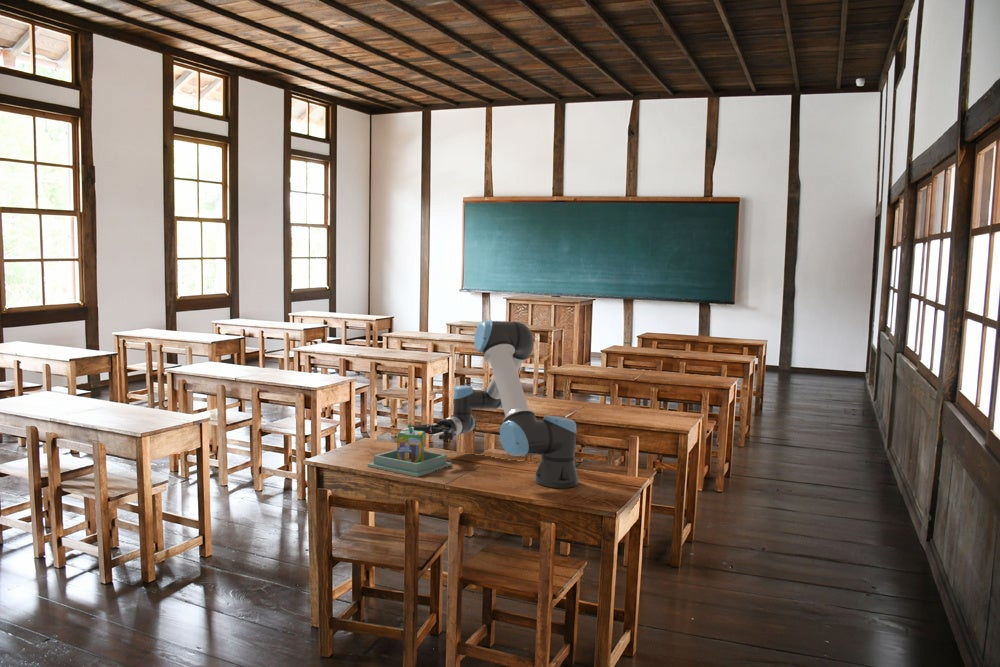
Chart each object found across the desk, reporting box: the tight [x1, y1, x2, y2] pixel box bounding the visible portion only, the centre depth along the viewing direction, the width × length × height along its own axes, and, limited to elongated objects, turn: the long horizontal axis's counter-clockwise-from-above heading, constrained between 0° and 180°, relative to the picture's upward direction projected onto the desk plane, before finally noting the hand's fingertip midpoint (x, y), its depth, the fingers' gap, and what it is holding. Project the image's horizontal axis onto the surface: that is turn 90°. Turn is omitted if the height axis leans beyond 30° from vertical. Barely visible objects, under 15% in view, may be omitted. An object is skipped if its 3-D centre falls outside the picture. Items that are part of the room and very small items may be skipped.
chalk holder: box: [367, 449, 453, 478], centre depth 275 cm, size 22×22×4 cm
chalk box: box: [396, 422, 426, 463], centre depth 274 cm, size 9×9×15 cm
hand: (417, 435), depth 278 cm, fingers open, 13 cm apart
